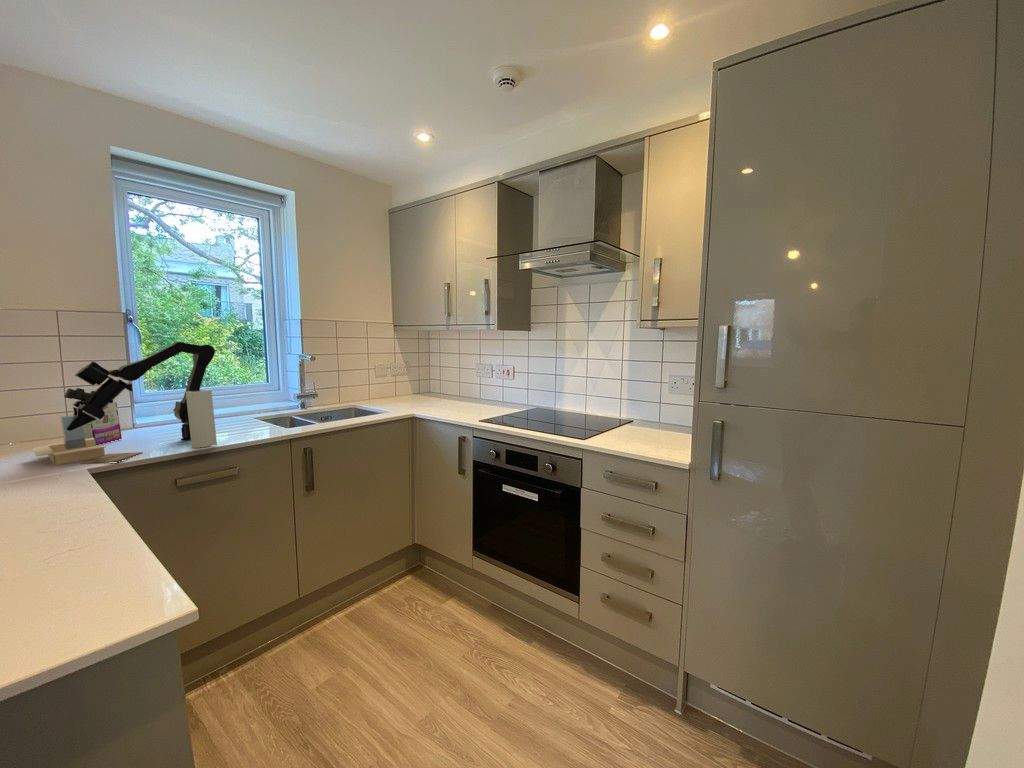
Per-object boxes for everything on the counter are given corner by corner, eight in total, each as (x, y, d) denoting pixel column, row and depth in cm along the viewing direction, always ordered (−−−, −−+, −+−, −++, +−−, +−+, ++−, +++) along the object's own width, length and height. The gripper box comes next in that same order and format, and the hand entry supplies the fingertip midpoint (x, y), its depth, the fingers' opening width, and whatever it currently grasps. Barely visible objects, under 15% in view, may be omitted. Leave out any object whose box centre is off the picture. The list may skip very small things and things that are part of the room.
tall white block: (187, 447, 157) (181, 391, 155) (204, 443, 163) (199, 389, 160) (200, 449, 154) (194, 391, 152) (217, 445, 160) (211, 389, 158)
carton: (116, 445, 162) (114, 434, 162) (130, 454, 148) (128, 442, 148) (32, 459, 145) (30, 446, 145) (39, 471, 131) (37, 457, 131)
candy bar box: (110, 440, 173) (105, 400, 171) (122, 439, 172) (117, 400, 171) (82, 447, 161) (76, 405, 160) (95, 447, 161) (89, 405, 160)
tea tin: (83, 444, 149) (79, 414, 147) (86, 446, 146) (81, 415, 145) (64, 447, 145) (60, 416, 144) (66, 449, 142) (62, 417, 141)
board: (142, 454, 149) (142, 452, 149) (118, 463, 138) (118, 461, 138) (108, 456, 148) (108, 453, 148) (80, 465, 137) (80, 462, 137)
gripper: (77, 378, 152) (36, 413, 144) (86, 380, 140) (42, 418, 133) (109, 396, 159) (72, 431, 151) (121, 400, 147) (81, 437, 140)
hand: (66, 429), depth 144 cm, fingers closed on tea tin, 4 cm apart
